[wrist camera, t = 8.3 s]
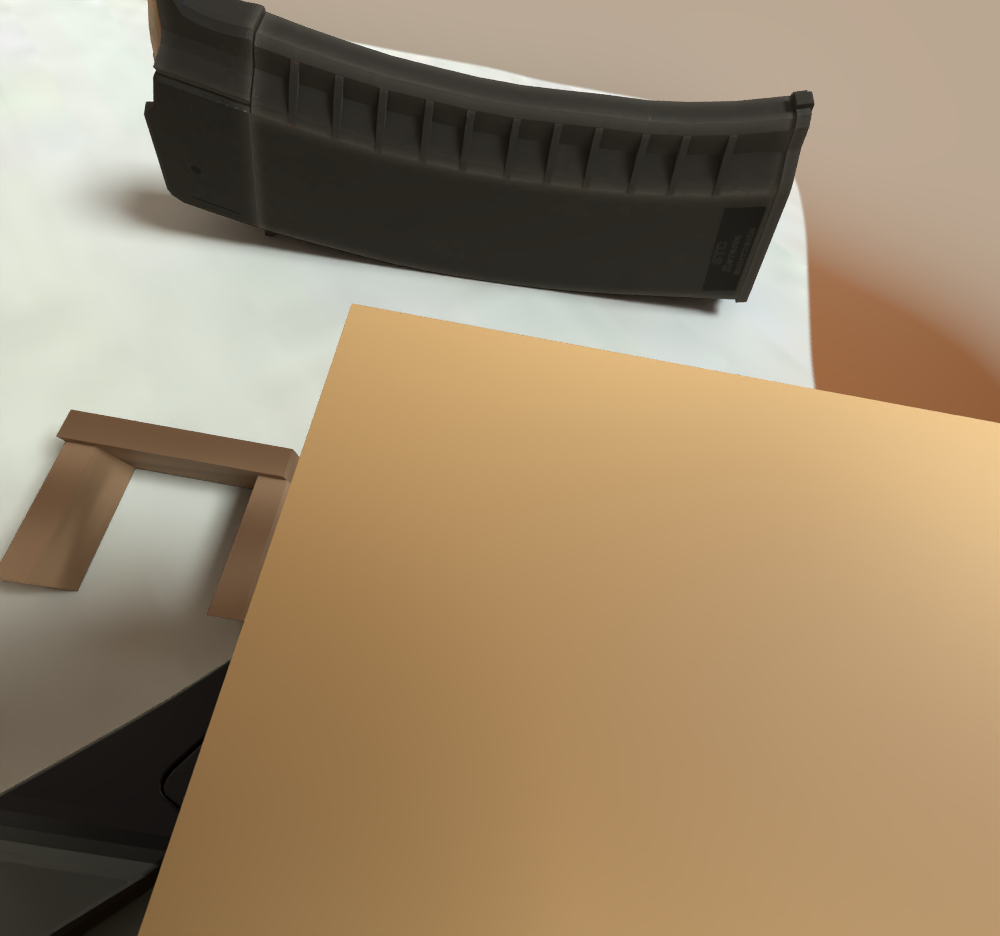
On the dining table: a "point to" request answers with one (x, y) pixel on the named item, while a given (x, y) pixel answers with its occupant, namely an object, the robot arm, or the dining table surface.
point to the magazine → (465, 161)
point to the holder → (101, 484)
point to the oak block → (605, 660)
